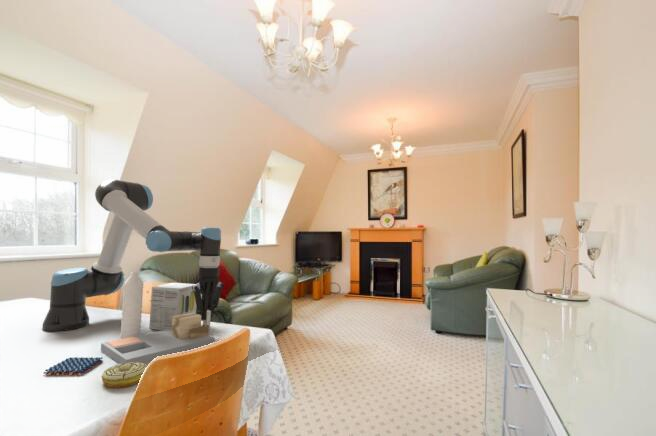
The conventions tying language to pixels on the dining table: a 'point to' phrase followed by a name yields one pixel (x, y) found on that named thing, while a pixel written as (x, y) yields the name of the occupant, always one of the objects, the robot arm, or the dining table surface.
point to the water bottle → (132, 306)
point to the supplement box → (170, 304)
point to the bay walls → (199, 332)
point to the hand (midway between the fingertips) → (206, 327)
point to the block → (184, 324)
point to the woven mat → (74, 366)
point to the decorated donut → (123, 374)
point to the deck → (150, 346)
